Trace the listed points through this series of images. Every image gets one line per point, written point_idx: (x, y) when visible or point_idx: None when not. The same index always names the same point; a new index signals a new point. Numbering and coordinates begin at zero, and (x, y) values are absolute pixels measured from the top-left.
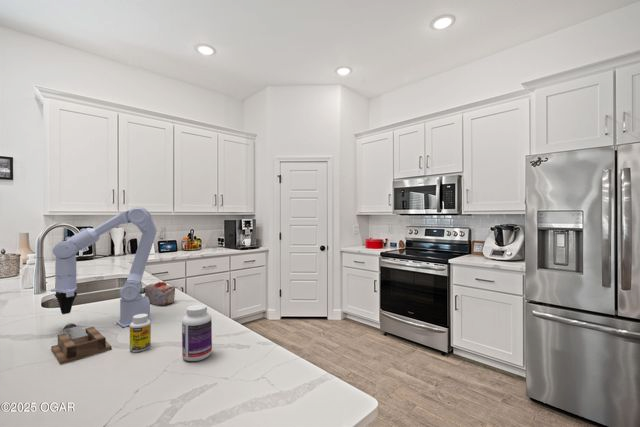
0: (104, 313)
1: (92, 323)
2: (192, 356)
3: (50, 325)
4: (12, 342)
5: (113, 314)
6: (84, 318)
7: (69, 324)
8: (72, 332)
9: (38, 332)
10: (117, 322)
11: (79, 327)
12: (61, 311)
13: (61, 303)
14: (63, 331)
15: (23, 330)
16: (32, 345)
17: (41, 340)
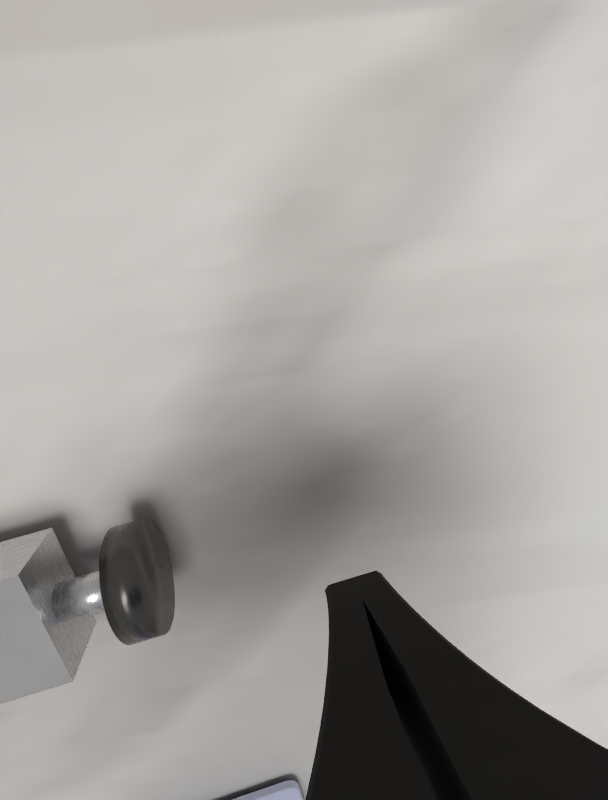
0: (599, 670)
1: None
2: None
3: (580, 351)
4: (261, 91)
5: None
6: (577, 565)
7: (108, 618)
8: None
9: (436, 283)
10: (258, 797)
11: (3, 694)
12: (337, 609)
13: (315, 780)
14: (111, 532)
15: (601, 144)
16: (42, 287)
17: (159, 341)
